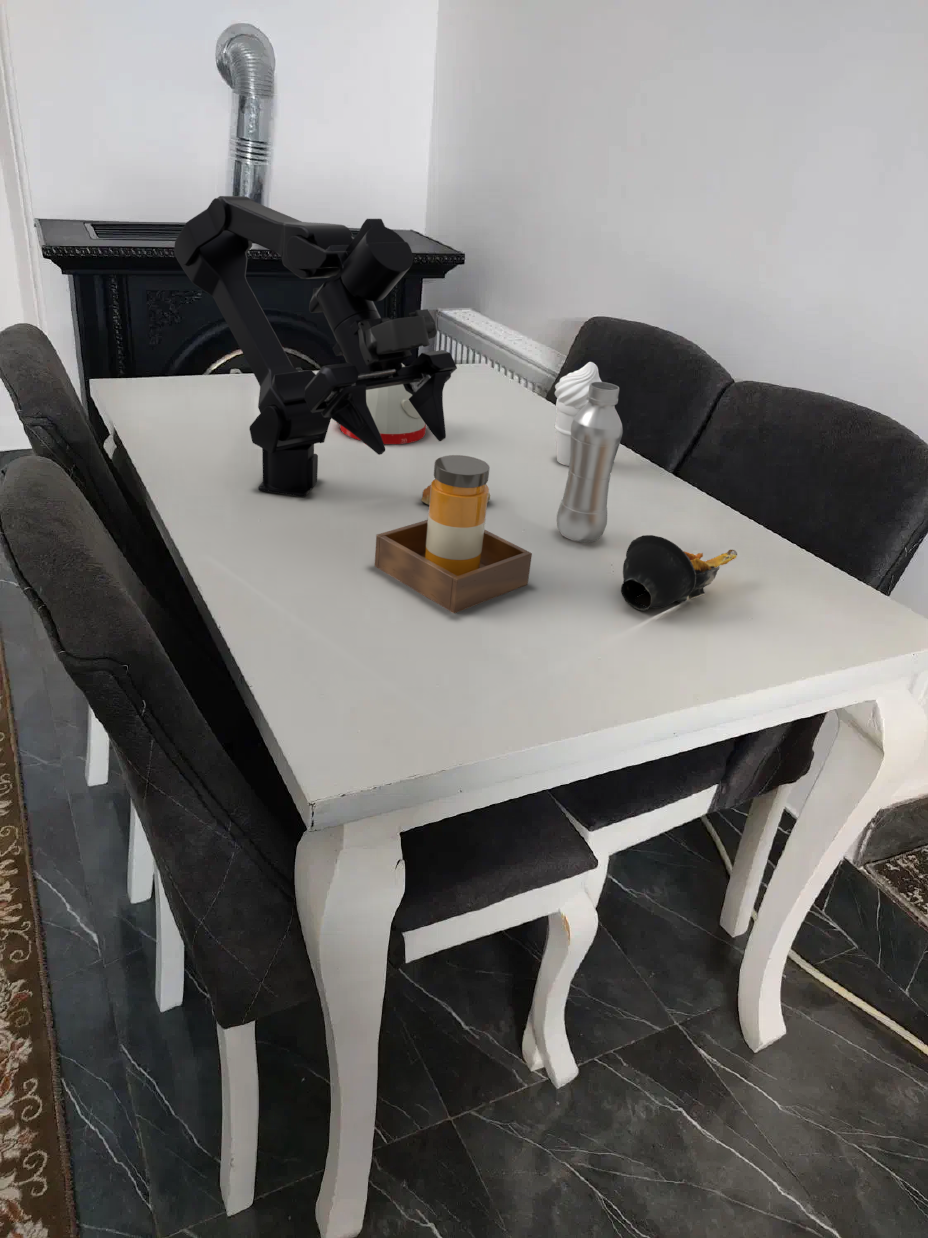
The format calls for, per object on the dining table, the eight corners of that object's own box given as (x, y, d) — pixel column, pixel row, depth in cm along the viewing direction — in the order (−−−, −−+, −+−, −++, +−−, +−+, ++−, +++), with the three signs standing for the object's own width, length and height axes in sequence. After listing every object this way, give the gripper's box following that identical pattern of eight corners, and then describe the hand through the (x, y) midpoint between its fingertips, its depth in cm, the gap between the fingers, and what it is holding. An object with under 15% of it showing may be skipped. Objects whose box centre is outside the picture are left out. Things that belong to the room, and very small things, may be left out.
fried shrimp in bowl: (589, 562, 103) (670, 479, 112) (622, 640, 108) (696, 555, 117) (658, 564, 96) (737, 476, 106) (689, 647, 101) (762, 556, 110)
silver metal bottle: (572, 551, 117) (598, 395, 107) (544, 529, 122) (567, 379, 112) (613, 545, 119) (643, 392, 110) (584, 524, 124) (610, 377, 115)
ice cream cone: (537, 463, 144) (552, 361, 136) (553, 449, 150) (567, 350, 143) (588, 475, 141) (606, 371, 133) (602, 460, 148) (620, 360, 140)
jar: (411, 571, 106) (420, 460, 100) (451, 557, 110) (462, 450, 104) (450, 593, 103) (461, 479, 96) (490, 578, 107) (503, 468, 100)
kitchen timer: (441, 431, 153) (449, 339, 145) (392, 450, 142) (398, 352, 135) (374, 411, 159) (378, 322, 151) (322, 428, 148) (324, 333, 141)
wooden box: (374, 568, 107) (376, 534, 105) (448, 545, 114) (451, 512, 112) (453, 616, 99) (457, 580, 97) (527, 587, 107) (532, 553, 104)
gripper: (322, 287, 94) (385, 424, 93) (453, 279, 106) (511, 399, 105) (277, 347, 102) (335, 472, 101) (404, 333, 114) (457, 445, 113)
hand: (413, 445), depth 105 cm, fingers open, 9 cm apart
